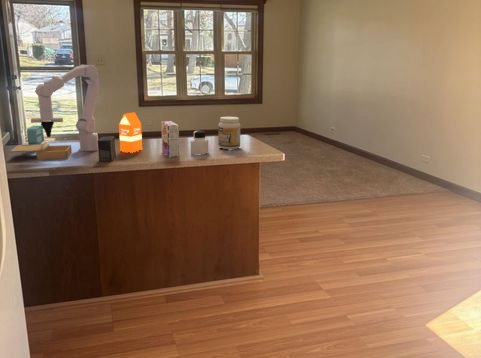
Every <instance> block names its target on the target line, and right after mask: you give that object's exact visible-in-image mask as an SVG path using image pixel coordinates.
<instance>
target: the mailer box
mask: <svg viewBox="0 0 481 358" xmlns="http://www.w3.org/2000/svg"><path fill="white" fill-rule="evenodd" d="M72 150H73V149H72V145H71V144H64V145H62V144H61V145H49V146H48V147H47V148H46V149H45V150H44V151H43V152H35V155H36V160H37V161H39V160H40V161H41V160H43V161H45V160H68V159H69V158H70V156H71V155H72V152H73V151H72Z"/></svg>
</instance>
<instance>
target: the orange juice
mask: <svg viewBox="0 0 481 358" xmlns="http://www.w3.org/2000/svg"><path fill="white" fill-rule="evenodd" d="M118 130H119V131H118V132H119V147H120V152H121V151H122V152H123V153H128V152H130V154H133V152H134V153H136V151H137V152H140V151H139V150H141V151H143V137H142V136H143V135H142V134H143V133H142V123H141V120H139V118H138V116H137V114H136V112H128V113H124V114H123V116H122V118H121V120H120V122H119V124H118Z"/></svg>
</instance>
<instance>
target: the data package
mask: <svg viewBox="0 0 481 358" xmlns="http://www.w3.org/2000/svg"><path fill="white" fill-rule="evenodd" d="M44 135H45V134H44V129H43V127H42V126H41V125H32V126H30V127H28V128H27V129H26V136H27V143H28V144H27V145H40V144H41V143H42V142H43V141H45V137H44Z"/></svg>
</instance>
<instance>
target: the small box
mask: <svg viewBox="0 0 481 358" xmlns="http://www.w3.org/2000/svg"><path fill="white" fill-rule="evenodd" d="M97 151H98V163H99V162H100V163H101V162H102V163H103V162H109V163H110V162H111V161H112V162H113V161H114V160H115V158H116V157H117V154H116V141H115V136H110V135H109V136H101V137H100V138H98V150H97Z"/></svg>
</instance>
